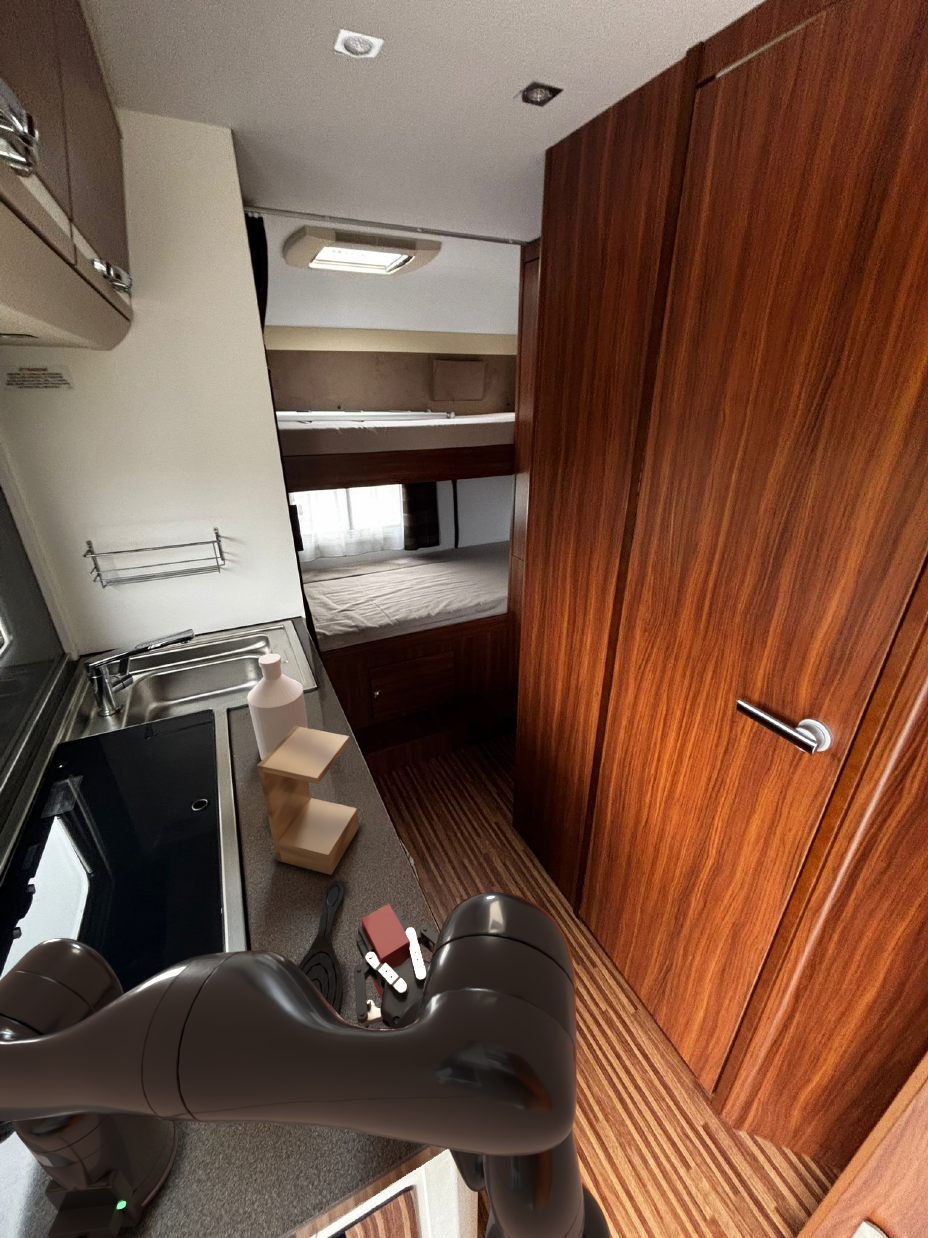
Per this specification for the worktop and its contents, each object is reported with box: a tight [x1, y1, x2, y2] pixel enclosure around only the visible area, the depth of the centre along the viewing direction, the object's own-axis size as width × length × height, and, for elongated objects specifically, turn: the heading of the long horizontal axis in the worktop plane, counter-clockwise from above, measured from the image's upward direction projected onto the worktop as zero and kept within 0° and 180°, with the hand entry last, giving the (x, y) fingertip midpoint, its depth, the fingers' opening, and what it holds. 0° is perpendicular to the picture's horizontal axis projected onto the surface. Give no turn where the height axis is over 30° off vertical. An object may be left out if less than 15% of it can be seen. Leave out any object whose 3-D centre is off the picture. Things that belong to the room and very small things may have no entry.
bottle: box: [246, 653, 309, 761], centre depth 112 cm, size 12×12×25 cm
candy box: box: [361, 903, 410, 1000], centre depth 65 cm, size 4×6×10 cm, turn 34°
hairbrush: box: [297, 880, 345, 1015], centre depth 74 cm, size 8×4×25 cm
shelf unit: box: [257, 726, 360, 876], centre depth 89 cm, size 11×11×22 cm
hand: (376, 922), depth 66 cm, fingers closed on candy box, 4 cm apart
